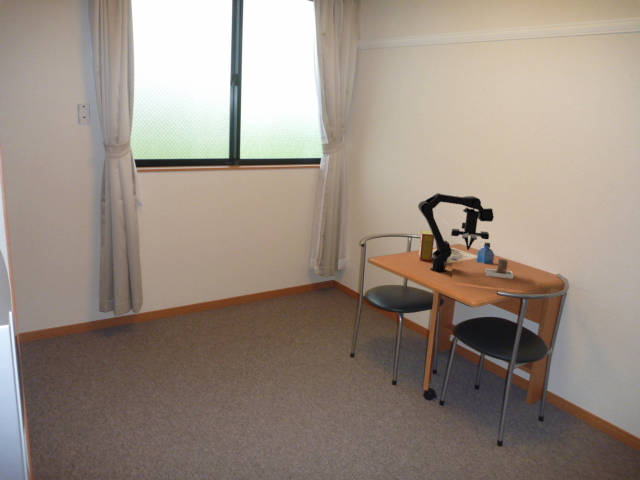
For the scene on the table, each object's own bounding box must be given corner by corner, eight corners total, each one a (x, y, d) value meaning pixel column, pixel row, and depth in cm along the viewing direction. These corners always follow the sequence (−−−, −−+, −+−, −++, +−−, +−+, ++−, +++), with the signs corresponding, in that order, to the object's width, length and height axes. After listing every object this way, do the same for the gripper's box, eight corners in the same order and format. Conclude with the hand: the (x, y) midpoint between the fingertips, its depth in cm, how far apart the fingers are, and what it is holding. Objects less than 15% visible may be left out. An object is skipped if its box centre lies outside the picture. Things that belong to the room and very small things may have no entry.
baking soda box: (431, 261, 272) (434, 234, 268) (419, 260, 273) (422, 233, 269) (430, 256, 281) (432, 230, 277) (418, 255, 282) (421, 229, 278)
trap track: (485, 277, 247) (486, 272, 247) (485, 273, 254) (485, 268, 253) (512, 281, 244) (513, 275, 243) (511, 276, 251) (512, 271, 250)
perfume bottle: (485, 261, 276) (488, 241, 273) (492, 264, 271) (495, 244, 268) (476, 262, 274) (479, 242, 271) (483, 265, 269) (486, 244, 266)
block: (497, 275, 247) (499, 261, 245) (496, 273, 251) (498, 259, 249) (505, 276, 246) (507, 262, 244) (504, 274, 250) (506, 259, 248)
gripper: (489, 219, 255) (485, 247, 259) (453, 216, 260) (449, 244, 264) (490, 223, 245) (486, 253, 249) (453, 220, 249) (449, 249, 253)
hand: (467, 249), depth 254 cm, fingers closed
